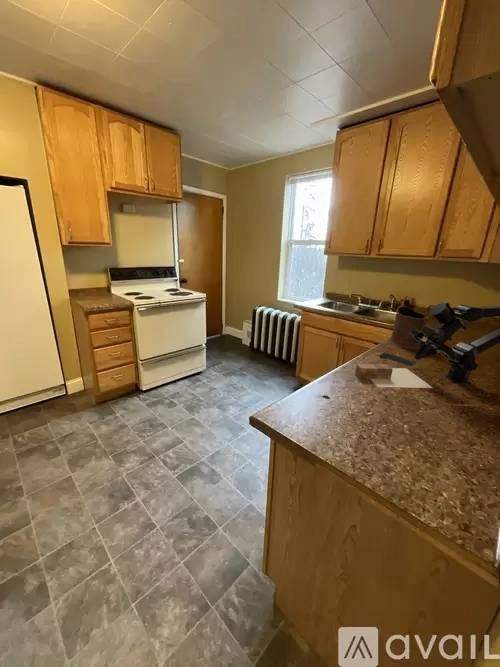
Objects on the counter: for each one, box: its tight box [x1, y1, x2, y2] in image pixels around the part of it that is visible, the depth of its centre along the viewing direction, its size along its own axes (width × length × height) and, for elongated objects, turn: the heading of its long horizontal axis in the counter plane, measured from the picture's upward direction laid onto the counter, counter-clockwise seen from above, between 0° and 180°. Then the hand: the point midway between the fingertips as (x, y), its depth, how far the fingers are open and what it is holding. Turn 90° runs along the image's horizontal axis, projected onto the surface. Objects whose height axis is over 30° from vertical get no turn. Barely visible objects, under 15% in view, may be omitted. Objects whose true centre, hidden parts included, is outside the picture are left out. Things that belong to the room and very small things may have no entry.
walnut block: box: [354, 363, 393, 380], centre depth 115 cm, size 4×4×13 cm
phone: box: [378, 352, 417, 367], centre depth 136 cm, size 8×1×15 cm
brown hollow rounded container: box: [387, 304, 438, 350], centre depth 156 cm, size 18×24×25 cm
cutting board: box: [369, 367, 434, 389], centre depth 116 cm, size 22×18×1 cm
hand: (415, 358), depth 113 cm, fingers closed
